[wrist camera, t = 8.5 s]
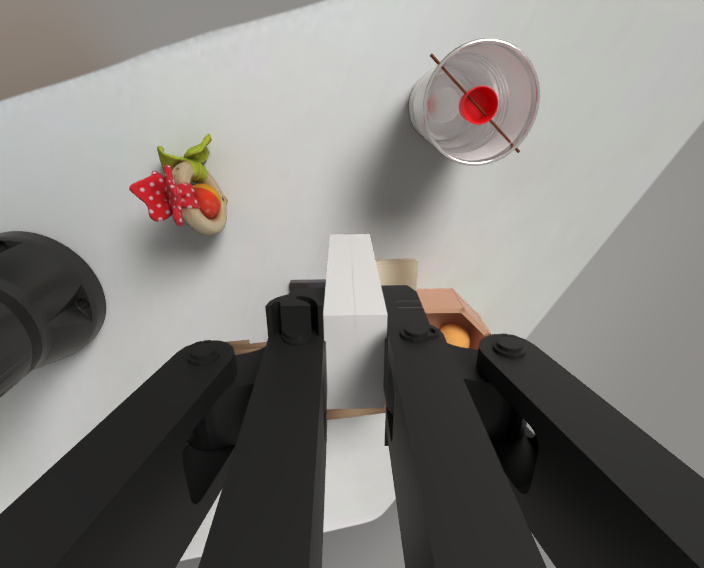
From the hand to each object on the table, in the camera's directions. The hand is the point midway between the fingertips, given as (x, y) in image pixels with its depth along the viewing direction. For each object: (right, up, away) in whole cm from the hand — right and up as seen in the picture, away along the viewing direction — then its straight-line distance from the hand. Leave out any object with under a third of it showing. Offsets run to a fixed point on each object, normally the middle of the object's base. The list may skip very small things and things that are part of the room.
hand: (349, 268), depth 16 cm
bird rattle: (-15, +10, +27) cm, 33 cm away
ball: (+12, -7, +33) cm, 36 cm away
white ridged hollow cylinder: (+9, +17, +25) cm, 32 cm away
